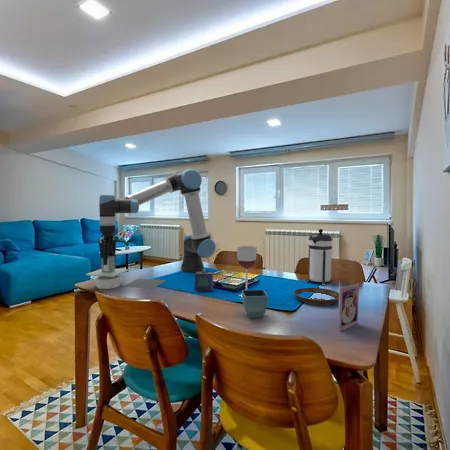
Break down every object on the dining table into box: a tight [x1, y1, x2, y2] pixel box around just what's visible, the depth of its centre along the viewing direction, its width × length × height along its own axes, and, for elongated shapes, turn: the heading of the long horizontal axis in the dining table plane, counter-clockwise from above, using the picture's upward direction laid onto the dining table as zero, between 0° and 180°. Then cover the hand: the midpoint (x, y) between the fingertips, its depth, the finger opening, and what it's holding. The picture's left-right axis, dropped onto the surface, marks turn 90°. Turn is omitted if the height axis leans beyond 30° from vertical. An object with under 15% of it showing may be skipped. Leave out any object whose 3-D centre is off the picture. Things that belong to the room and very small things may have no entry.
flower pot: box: [241, 289, 269, 319], centre depth 114 cm, size 9×9×9 cm
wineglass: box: [236, 245, 258, 297], centre depth 139 cm, size 9×10×23 cm
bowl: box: [96, 274, 121, 290], centre depth 154 cm, size 11×11×5 cm
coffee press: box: [305, 228, 334, 285], centre depth 167 cm, size 17×16×30 cm
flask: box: [194, 268, 214, 292], centre depth 148 cm, size 9×3×11 cm, turn 88°
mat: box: [122, 278, 167, 289], centre depth 160 cm, size 17×17×1 cm
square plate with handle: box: [85, 255, 130, 277], centre depth 154 cm, size 15×15×9 cm
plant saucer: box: [293, 287, 339, 306], centre depth 135 cm, size 21×21×3 cm
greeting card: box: [337, 279, 360, 331], centre depth 106 cm, size 11×7×15 cm, turn 126°
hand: (108, 270), depth 154 cm, fingers closed on square plate with handle, 2 cm apart
